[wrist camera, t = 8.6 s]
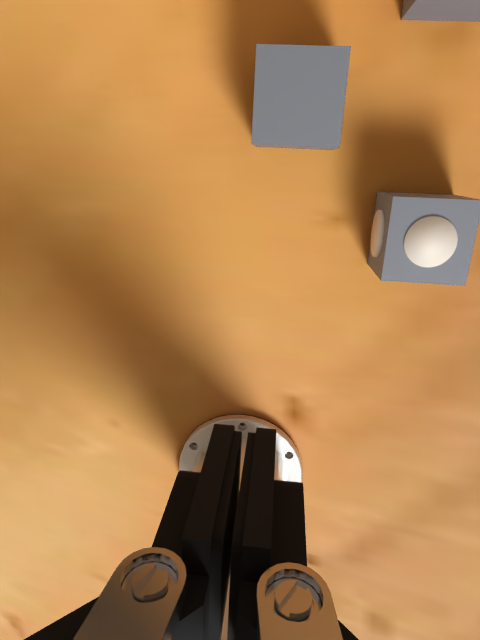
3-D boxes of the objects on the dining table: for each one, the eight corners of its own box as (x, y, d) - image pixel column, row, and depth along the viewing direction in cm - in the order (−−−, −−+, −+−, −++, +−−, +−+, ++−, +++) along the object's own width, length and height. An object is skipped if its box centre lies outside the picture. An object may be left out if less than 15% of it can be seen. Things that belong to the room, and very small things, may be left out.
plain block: (331, 150, 36) (339, 147, 31) (256, 146, 37) (251, 143, 31) (340, 65, 34) (350, 46, 29) (261, 63, 35) (256, 43, 29)
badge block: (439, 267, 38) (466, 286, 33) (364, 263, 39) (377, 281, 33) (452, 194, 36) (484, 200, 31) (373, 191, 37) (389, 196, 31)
